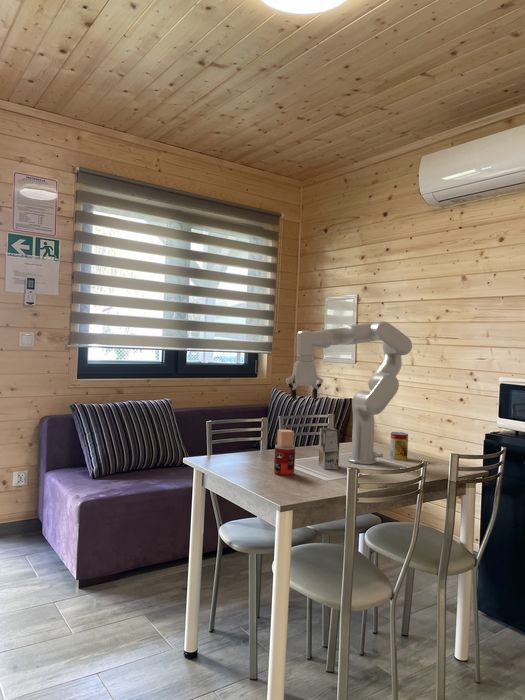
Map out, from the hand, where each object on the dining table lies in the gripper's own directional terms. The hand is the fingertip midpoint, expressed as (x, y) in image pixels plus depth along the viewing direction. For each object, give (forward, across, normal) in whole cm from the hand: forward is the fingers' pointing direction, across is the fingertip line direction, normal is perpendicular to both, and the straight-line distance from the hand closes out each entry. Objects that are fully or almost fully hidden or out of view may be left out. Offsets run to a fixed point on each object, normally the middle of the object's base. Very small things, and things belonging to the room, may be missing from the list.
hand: (304, 398), depth 227 cm
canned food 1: (+28, +15, +17) cm, 36 cm away
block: (+17, +15, +17) cm, 28 cm away
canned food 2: (+29, -49, -2) cm, 57 cm away
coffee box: (+28, -8, +9) cm, 31 cm away
